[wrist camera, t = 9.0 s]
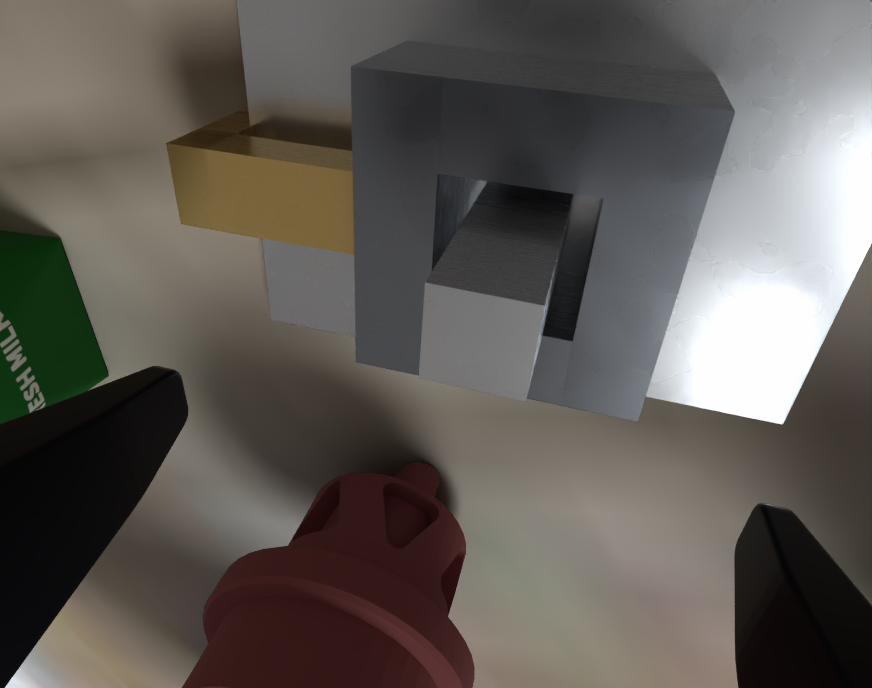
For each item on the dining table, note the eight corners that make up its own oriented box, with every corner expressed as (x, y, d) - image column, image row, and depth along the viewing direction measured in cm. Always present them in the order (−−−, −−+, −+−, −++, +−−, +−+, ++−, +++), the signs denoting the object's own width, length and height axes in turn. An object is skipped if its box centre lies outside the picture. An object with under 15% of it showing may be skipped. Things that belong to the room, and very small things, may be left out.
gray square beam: (580, 168, 18) (544, 306, 11) (565, 240, 19) (526, 402, 12) (503, 156, 18) (425, 282, 11) (493, 227, 19) (418, 377, 13)
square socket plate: (970, -4, 14) (1101, 22, 10) (777, 405, 21) (809, 518, 17) (216, -64, 18) (92, -63, 14) (259, 302, 24) (184, 374, 20)
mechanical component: (512, 592, 30) (322, 560, 33) (502, 430, 25) (277, 408, 27) (448, 920, 20) (183, 834, 23) (409, 765, 15) (71, 678, 18)
